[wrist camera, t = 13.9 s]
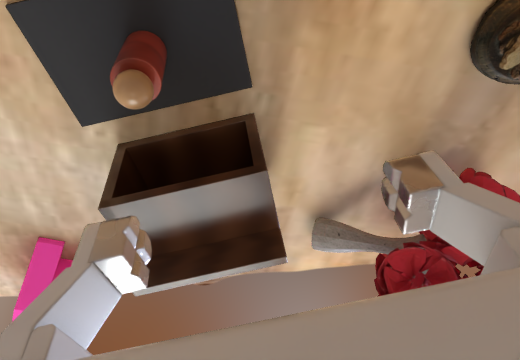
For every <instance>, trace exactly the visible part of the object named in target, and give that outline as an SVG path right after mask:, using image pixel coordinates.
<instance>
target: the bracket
mask: <svg viewBox="0 0 520 360" xmlns="http://www.w3.org/2000/svg"><path fill="white" fill-rule="evenodd" d="M64 244H65V242H64V241H58V240H53V239H47V238H42V237H39V239H38V241H37V244H36V246H35V249H34V252H33V255H32V258H31V261H30V264H29V267H28V270H27V273H26V276H25V279H24V282H23V285H22V288H21V291H20V294H19V297H18V300H17V303H16V306H15V309H14V314H13V320H12V322H13V321H14V320H15V319H16V318H17V317H18V316H19V315H20V314H21V313H22V312H23V311H24V310H25V309H26V308H27V307H28V306H29V305H30V304H31V303H32V302H33V301H34V300H35V299H36V298H37V297H38V296H39V295H40V294H41V293H42V292H43V291H44V290H45V289H46V288H47V287H48V286H49V285H50V284H51V283H52V282H53V281H54V280H55V279H56V278H57V277H58V276H59V275H60V274H61V273H62V272H63V271H64V270H65V269H66V268H68V267H71V265H72V262H73V260H68V259H62V258H61V255H62V251H63V247H64Z"/></svg>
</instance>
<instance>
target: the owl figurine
mask: <svg viewBox="0 0 520 360" xmlns="http://www.w3.org/2000/svg"><path fill="white" fill-rule="evenodd" d="M470 52H471V58H472V61H473V63H474V65H475V66H476V68H477V69H478V70H479V71H480V72H481V73H483V74H484V75H485V76H487V77H489V78H491V79H494V80H496V81H498V82H502V83H506V84H520V0H498V1H497V2H496V4H495V5H494V6H493V7H492V8H490V9H489V11H488V12H486V13H485V16H484V18H483V19H482V21H481V23H480V25H479V27H478V29H477V31H476V35H475V36H474V39H473V41H472V42H471V48H470ZM495 76H498V78H495Z"/></svg>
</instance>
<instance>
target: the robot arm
mask: <svg viewBox="0 0 520 360" xmlns="http://www.w3.org/2000/svg"><path fill="white" fill-rule="evenodd" d="M383 172H384V174H385V175H386V177H385V178H384V179H383V180H382V187H381V189H382V195H383V199H384V201H385V204H386V205H387V207H388V209H390V210H392V211H394V212H395V216H394V219H395V221H396V223H397V225H398V226H399V228H400V230H401V231H402V233H403V234H409V233H414V232H420V231H425V230H430V231H431V232H433V233H434V234H436V235H437V236H439V237H440V238H442V239H443V240H445V241H446V242H448V243H449V244H451V245H452V246H454V247H455V248H457V249H458V250H460V251H461V252H463V253H465V254H466V255H468V256H469V257H471V258H472V259H474V260H475V261H477V262H478V263H480V264H481V265H483V266H484V268H483V270H482V272H481V274H480V275H479V276H475V277H470V278H465V279H460V280H455V281H450V282H446V283H441V284H436V285H431V286H426V287H421V288H417V289H412V290H407V291H402V292H397V293H393V294H388V295H383V296H378V297H373V298H369V299H364V300H359V301H354V302H350V303H344V304H340V305H335V306H331V307H325V308H320V309H316V310H311V311H306V312H301V313H296V314H292V315H287V316H282V317H277V318H272V319H268V320H263V321H258V322H253V323H248V324H244V325H239V326H234V327H229V328H224V329H219V330H214V331H210V332H205V333H200V334H195V335H190V336H186V337H181V338H176V339H171V340H166V341H161V342H157V343H152V344H147V345H142V346H137V347H132V348H128V349H123V350H118V351H113V352H108V353H104V354H99V355H94V356H93V355H92V354H91V353H89V352H88V351H87V350H86V349H87V347H88V346H89V345H90V343H91V341H92V340H93V338H94V337H95V335H96V333H97V332H98V331H99V329H100V328H101V326H102V325H103V323H104V322H105V320H106V319H107V317H108V316H109V314H110V312H111V311H112V310H113V308H114V307H115V305H116V304H117V302H118V301H119V299H120V298H121V294H125V293H129V292H134V291H138V290H142V289H146V288H147V285H148V278H149V271H150V270H149V269H148V267H147V266H146V265H147V263H148V262H149V261H150V260H151V256H152V246H151V241H150V238H149V236H148V234H147V232H146V231H144V230H142V229H140V221H139V220H138V218H137V217H136V216H128V217H122V218H117V219H112V220H107V221H103V222H98V223H93V224H88V225H87V226H86V227H85V228H84V231H83V233H82V236H81V239H80V242H79V245H78V248H77V250H76V253H75V256H74V259H73V262H72V265H71V267H68V268H66V269H65V270H64V271H63V272H62V273H61V274H60V275H59V276H58V277H57V278H56V279H55V280H54V281H53V282H52V283H51V284H50V285H49V286H48V287H47V288H46V289H45V290H44V291H43V292H42V293H41V294H40V295H39V296H38V297H37V298H36V299H35V300H34V301H33V302H32V303H31V304H30V305H29V306H28V307H27V308H26V309H25V310H24V311H23V312H22V313H21V314H20V315H19V316H18V317H17V318H16V319H15V320H14V321H13V322H12V323H11V324H10V325H9V326H8V327H7V328H6V329H5V330H4V331H3V332H2V333H1V335H0V360H520V203H519V202H516V201H514V200H511V199H509V198H506V197H504V196H501V195H499V194H496V193H494V192H491V191H489V190H486V189H484V188H481V187H479V186H476V185H474V184H471V183H463V182H462V181H461V180H460V178H459V177H458V176H457V175H456V174H455V173H454V172H453V171H452V169H451V168H450V167H449V166H448V165H447V164H446V163H445V162H444V161H443V159H442V158H441V157H440V156H439V155H438V154H437V153H436V152H435V151H429V152H424V153H420V154H416V155H412V156H407V157H403V158H398V159H394V160H389V161H385V163H384V165H383Z"/></svg>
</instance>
